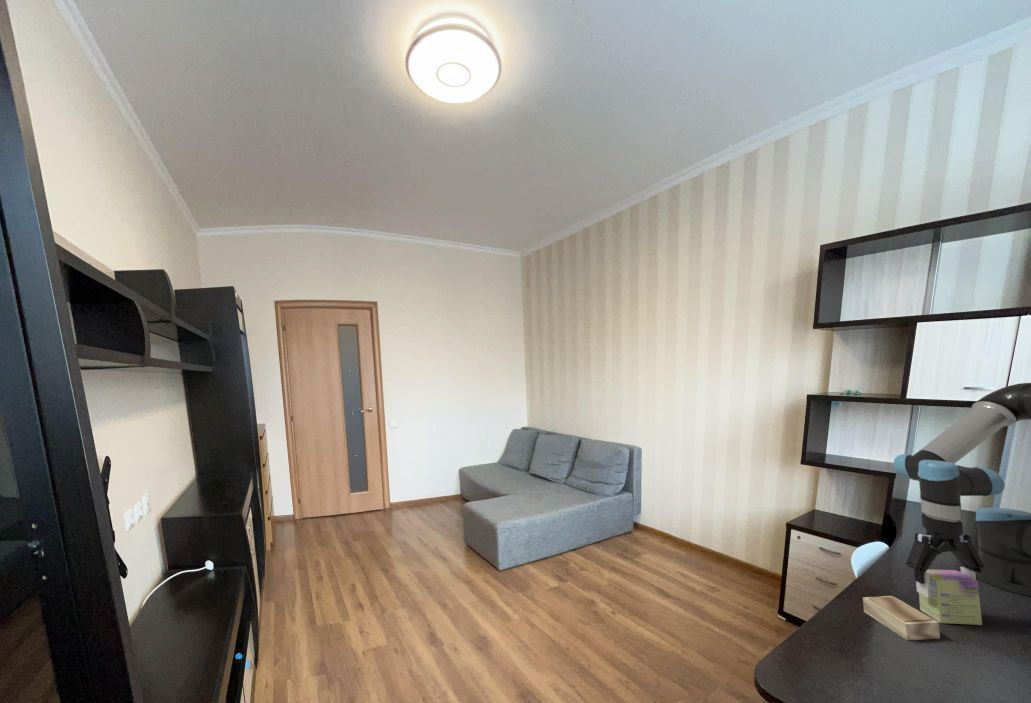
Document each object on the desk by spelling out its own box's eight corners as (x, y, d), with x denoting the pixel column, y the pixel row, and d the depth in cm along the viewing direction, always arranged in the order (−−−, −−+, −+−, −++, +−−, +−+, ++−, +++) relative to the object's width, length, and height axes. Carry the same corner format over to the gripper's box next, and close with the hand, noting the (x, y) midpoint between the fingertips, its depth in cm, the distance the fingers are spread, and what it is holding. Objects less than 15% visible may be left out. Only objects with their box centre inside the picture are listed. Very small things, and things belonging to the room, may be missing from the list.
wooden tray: (893, 610, 103) (892, 594, 104) (940, 638, 92) (938, 621, 93) (863, 611, 103) (862, 596, 103) (907, 640, 92) (905, 623, 92)
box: (959, 611, 102) (955, 569, 103) (983, 625, 97) (978, 580, 97) (919, 610, 103) (915, 568, 104) (940, 623, 98) (936, 579, 98)
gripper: (965, 510, 106) (971, 584, 105) (885, 512, 105) (889, 587, 104) (1000, 521, 98) (1007, 600, 97) (914, 523, 97) (920, 603, 96)
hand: (946, 593), depth 100 cm, fingers open, 13 cm apart
